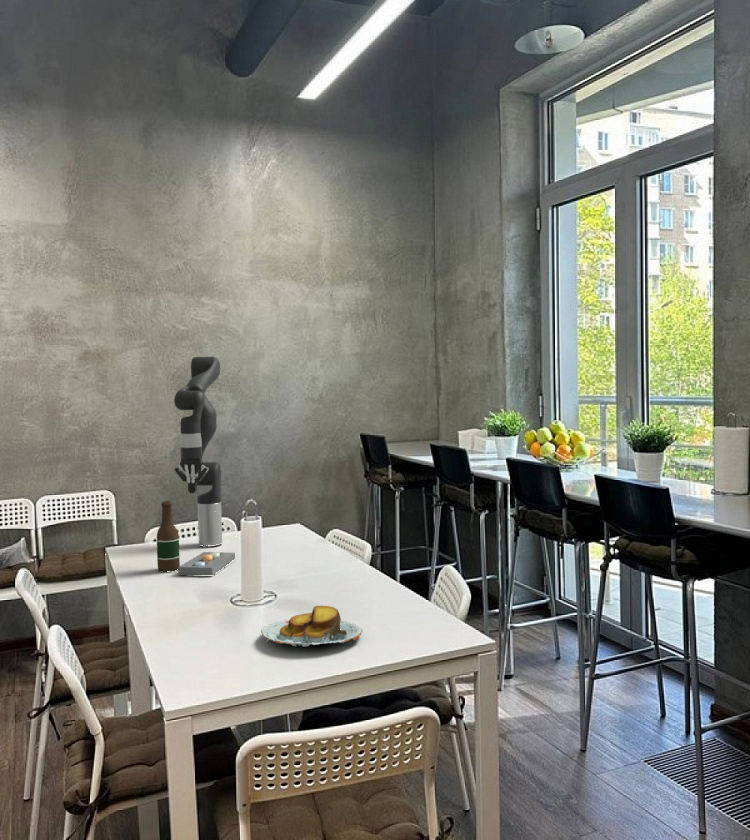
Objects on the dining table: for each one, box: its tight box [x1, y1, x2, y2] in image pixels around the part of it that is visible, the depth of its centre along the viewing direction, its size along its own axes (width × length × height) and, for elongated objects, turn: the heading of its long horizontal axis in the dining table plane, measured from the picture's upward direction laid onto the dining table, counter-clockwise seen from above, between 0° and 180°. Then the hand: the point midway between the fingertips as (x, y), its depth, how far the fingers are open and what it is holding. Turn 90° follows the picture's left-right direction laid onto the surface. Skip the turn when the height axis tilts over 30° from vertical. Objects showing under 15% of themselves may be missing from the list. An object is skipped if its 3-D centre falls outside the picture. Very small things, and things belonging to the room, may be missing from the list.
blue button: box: [194, 562, 205, 566], centre depth 262 cm, size 4×4×3 cm
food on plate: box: [260, 605, 363, 648], centre depth 194 cm, size 25×25×7 cm
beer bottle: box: [156, 500, 181, 573], centre depth 267 cm, size 8×8×24 cm
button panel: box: [177, 551, 236, 576], centre depth 269 cm, size 22×12×3 cm, turn 171°
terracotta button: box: [202, 554, 213, 561], centre depth 269 cm, size 4×4×3 cm
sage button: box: [210, 551, 220, 557], centre depth 275 cm, size 4×4×3 cm
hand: (192, 493), depth 279 cm, fingers closed
